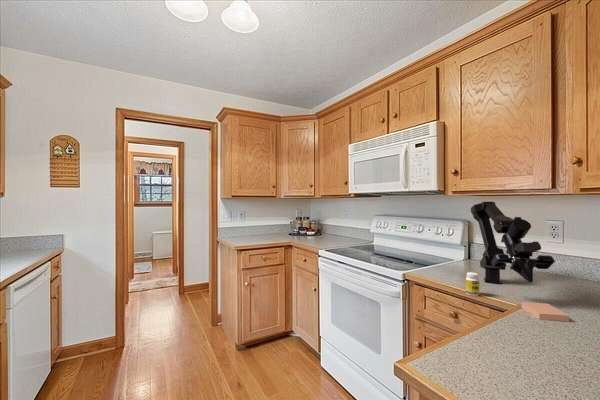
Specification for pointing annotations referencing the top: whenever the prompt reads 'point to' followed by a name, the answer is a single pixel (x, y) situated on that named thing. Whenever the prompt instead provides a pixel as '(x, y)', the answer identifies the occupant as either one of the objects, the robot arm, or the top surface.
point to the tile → (545, 312)
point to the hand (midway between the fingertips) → (531, 281)
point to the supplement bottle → (472, 284)
